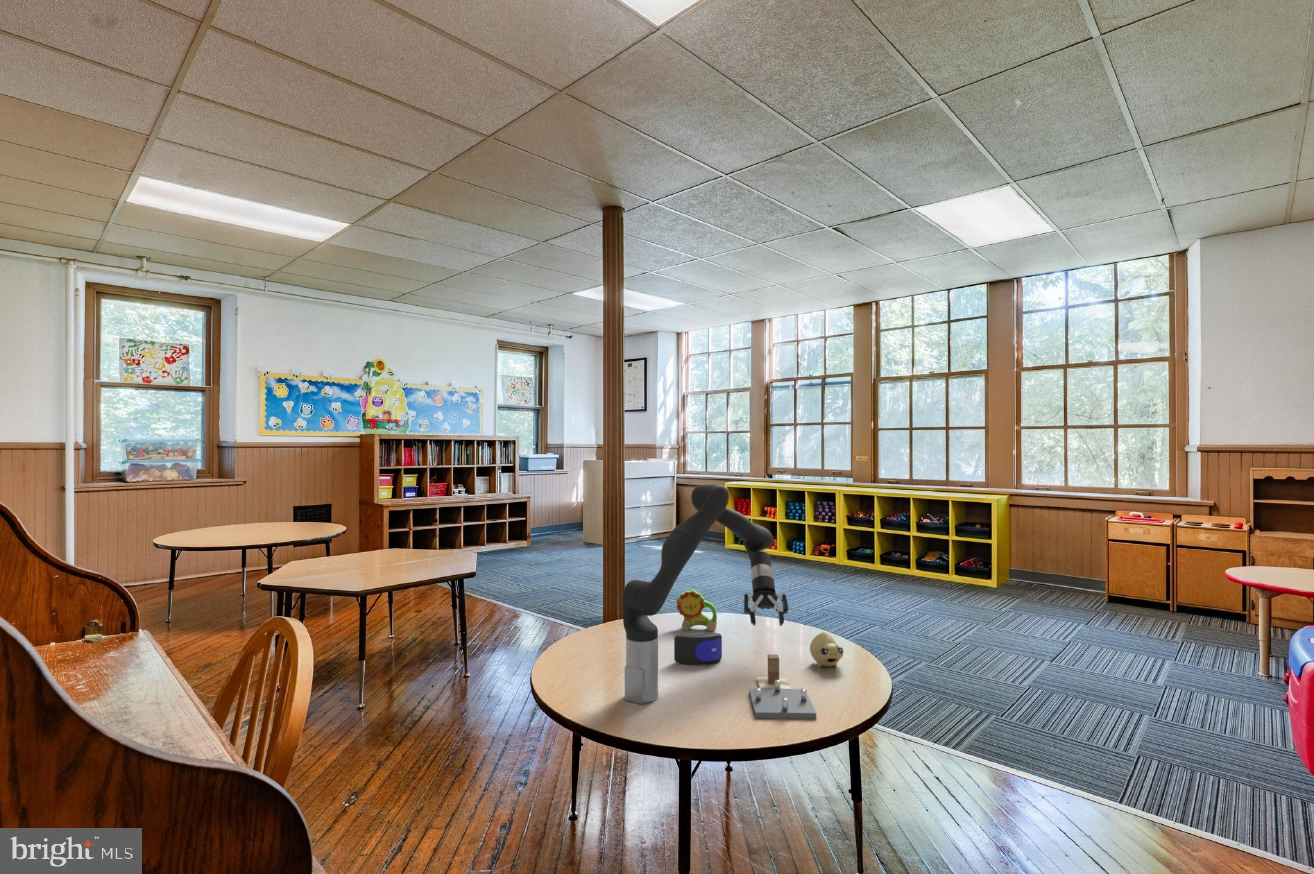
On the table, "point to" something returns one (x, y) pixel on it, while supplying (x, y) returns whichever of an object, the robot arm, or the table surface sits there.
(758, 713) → the base board
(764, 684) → the handled board
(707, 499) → the robot arm
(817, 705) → the table surface
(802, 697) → the standoff pins
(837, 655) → the yellow toy animal
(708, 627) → the toy lion
